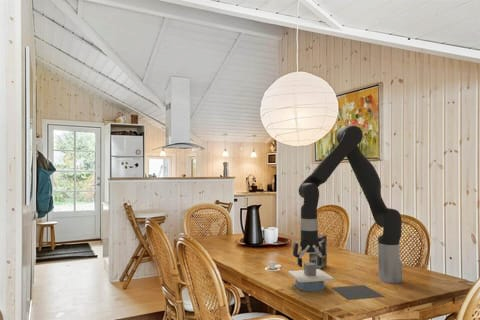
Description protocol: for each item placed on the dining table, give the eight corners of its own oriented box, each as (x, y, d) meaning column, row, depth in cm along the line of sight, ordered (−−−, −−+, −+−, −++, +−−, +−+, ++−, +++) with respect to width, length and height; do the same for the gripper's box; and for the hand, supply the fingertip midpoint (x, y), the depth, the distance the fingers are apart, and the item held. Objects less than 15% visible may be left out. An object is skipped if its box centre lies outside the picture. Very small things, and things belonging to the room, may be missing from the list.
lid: (319, 270, 172) (319, 259, 172) (333, 280, 157) (333, 267, 157) (288, 272, 169) (287, 261, 169) (299, 282, 154) (299, 269, 154)
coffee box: (320, 269, 193) (319, 238, 193) (309, 267, 197) (308, 237, 197) (327, 265, 200) (326, 235, 201) (316, 264, 204) (315, 234, 205)
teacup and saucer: (280, 267, 199) (280, 259, 199) (282, 271, 191) (282, 263, 192) (264, 267, 199) (264, 260, 199) (265, 271, 191) (265, 263, 191)
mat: (364, 286, 165) (364, 284, 165) (385, 298, 149) (385, 296, 149) (330, 288, 161) (330, 287, 161) (348, 301, 146) (348, 299, 146)
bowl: (317, 283, 170) (317, 271, 170) (328, 291, 158) (328, 279, 158) (292, 284, 167) (292, 273, 168) (301, 293, 156) (301, 281, 156)
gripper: (320, 226, 169) (321, 263, 168) (290, 228, 166) (291, 265, 165) (328, 229, 161) (328, 267, 161) (296, 230, 158) (297, 269, 158)
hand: (309, 266), depth 163 cm, fingers open, 8 cm apart
